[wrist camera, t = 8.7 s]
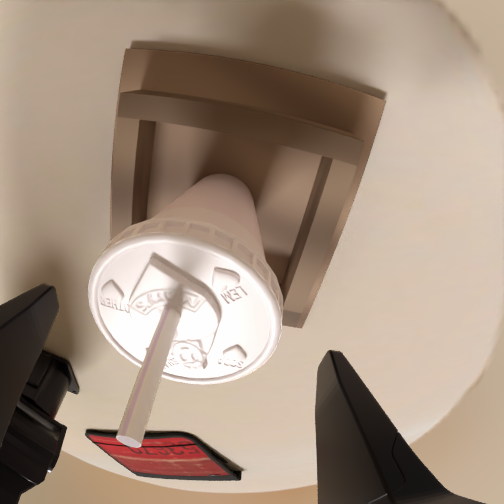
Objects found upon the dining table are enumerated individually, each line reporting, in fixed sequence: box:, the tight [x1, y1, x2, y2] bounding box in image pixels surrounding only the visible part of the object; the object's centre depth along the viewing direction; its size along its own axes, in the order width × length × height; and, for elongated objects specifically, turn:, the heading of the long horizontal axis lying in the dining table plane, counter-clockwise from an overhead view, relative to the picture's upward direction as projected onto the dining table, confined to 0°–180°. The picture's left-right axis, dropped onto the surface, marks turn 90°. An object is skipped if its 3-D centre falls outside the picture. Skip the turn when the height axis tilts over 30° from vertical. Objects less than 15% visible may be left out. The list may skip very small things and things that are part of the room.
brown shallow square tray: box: [110, 49, 386, 328], centre depth 17 cm, size 16×14×3 cm
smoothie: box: [88, 174, 283, 448], centre depth 12 cm, size 6×6×14 cm
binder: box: [85, 430, 241, 481], centre depth 39 cm, size 16×2×21 cm
